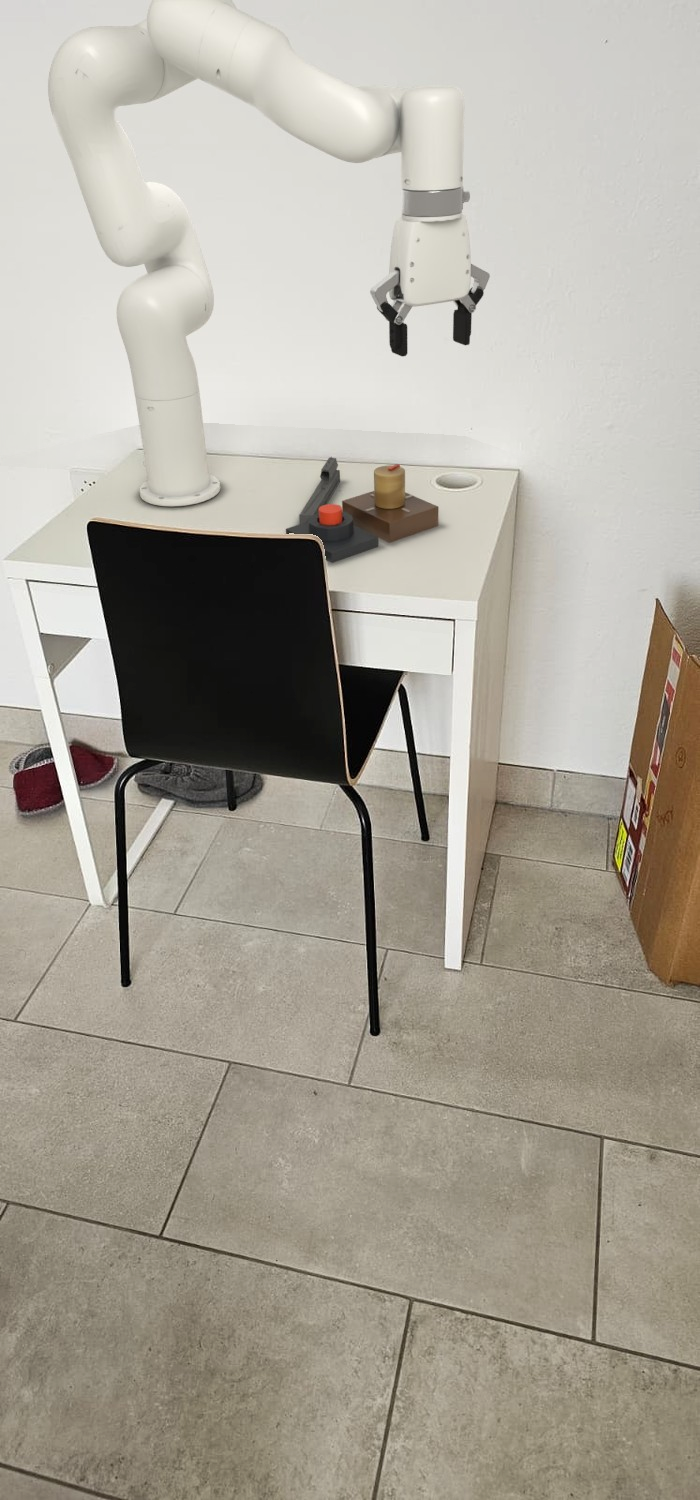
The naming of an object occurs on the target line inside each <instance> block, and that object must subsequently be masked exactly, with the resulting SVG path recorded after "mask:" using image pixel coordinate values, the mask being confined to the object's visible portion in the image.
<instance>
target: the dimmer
mask: <svg viewBox="0 0 700 1500" xmlns="http://www.w3.org/2000/svg"><path fill="white" fill-rule="evenodd" d="M341 507H342V512H345V513H348V514H350V515H352V518H353V525H354V526H356V527H358V528H360V529H362V530H364V531H366V532H368V533H370V534H373V535H375V536H377V537H378V539H380V540H383V541H385V542H387V543H389V544H390V543H394V542H396V541H399V540H402V539H405V538H408V537H411V536H415V535H416V534H419V533H423V532H425V531H428V530H430V529H435V528H437V527H439V505H436V504H433V503H431V502H429V501H428V500H424V499H422V498H419V497H417V496H415V495H413V494H410V493H408V492H406V491H405V504H404V505H403V506H402V507H399V508H394V509H384V508H379V507H377V506H376V505H375V503H374V490H373V491H369V492H366V493H363V494H360V495H356V496H354V497H350V498H347V499H344V500H342V501H341Z"/></svg>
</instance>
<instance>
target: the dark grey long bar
mask: <svg viewBox="0 0 700 1500" xmlns="http://www.w3.org/2000/svg"><path fill="white" fill-rule="evenodd" d="M338 467H339V464H338V461H337V458H336V457H332V456H330V457H328V459H327V460H326V461H325V463H324V465H323V466H322V468H321V471H320V475H319V478H320V481H319V482H318V484H317V486H316V488H315V489H314V491H313V493H312V494H311V495H310V497H309V499H308V500H307V501H306V504H305V506H304V507H303V508H302V510H301V512H300V513H299V514H298V518H299V520H298V521H299V524H302V523H305V522H308V519H309V518H310V517H311V516H312V515H314V514H317V513H319V508H320V507H321V506H323V505H328V504H329V501H330V500H331V497H332V496H333V495H334V493H335V491H336V489H337V488H338V486H339V484H340V483H341V470H340V469H338Z"/></svg>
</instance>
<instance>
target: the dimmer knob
mask: <svg viewBox="0 0 700 1500" xmlns="http://www.w3.org/2000/svg"><path fill="white" fill-rule="evenodd" d="M373 491H374V503H375V505H376V506H377V507H379V508H384V509H394V508H399V507H402V506H403V505H404V504H405V492H406V469H405V468H404V467H402V466H401V464H400V463H396V464H393V465H392V464H391V465H381V466H378V467H375V469H373Z"/></svg>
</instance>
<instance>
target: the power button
mask: <svg viewBox="0 0 700 1500" xmlns="http://www.w3.org/2000/svg"><path fill="white" fill-rule="evenodd" d="M319 523H321V524H325V525H335V524H338V523H342V505H341V506H340V505H339V504H333V503H330V504H329V503H327V505H323V506H321V507H320V508H319Z"/></svg>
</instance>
